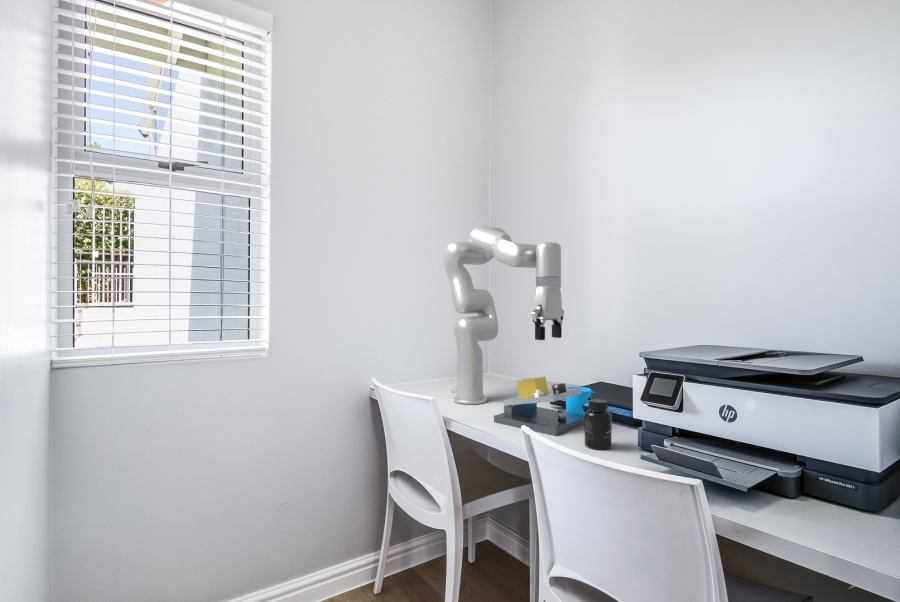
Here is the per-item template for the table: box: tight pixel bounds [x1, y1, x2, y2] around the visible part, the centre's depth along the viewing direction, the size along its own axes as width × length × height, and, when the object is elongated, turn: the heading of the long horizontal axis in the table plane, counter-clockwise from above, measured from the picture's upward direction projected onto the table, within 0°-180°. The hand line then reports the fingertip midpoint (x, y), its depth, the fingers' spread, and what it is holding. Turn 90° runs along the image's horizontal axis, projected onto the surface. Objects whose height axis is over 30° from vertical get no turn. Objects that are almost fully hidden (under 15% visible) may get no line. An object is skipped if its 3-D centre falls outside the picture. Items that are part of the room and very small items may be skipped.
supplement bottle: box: [584, 398, 613, 451], centre depth 126 cm, size 7×7×12 cm
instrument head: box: [503, 376, 581, 406], centre depth 150 cm, size 18×16×7 cm
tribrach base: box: [493, 403, 585, 437], centre depth 150 cm, size 22×19×5 cm
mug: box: [565, 386, 596, 416], centre depth 162 cm, size 12×8×8 cm
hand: (548, 338), depth 149 cm, fingers open, 9 cm apart
